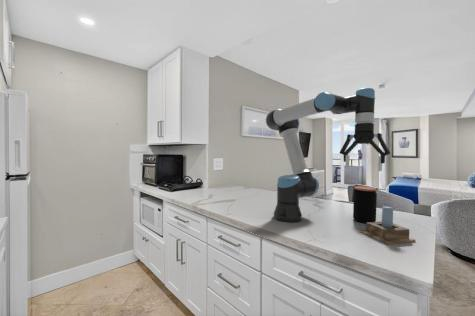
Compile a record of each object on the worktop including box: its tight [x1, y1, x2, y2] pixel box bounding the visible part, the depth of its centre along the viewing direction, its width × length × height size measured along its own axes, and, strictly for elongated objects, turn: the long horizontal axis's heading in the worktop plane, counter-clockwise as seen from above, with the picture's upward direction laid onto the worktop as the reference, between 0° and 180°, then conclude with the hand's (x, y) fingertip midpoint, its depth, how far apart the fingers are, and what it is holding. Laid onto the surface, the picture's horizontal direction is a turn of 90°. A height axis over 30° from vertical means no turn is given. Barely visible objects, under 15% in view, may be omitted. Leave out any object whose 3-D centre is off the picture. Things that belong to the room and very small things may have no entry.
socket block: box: [360, 221, 416, 245], centre depth 97 cm, size 14×14×5 cm
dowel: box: [381, 206, 394, 229], centre depth 96 cm, size 4×4×12 cm
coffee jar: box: [352, 185, 378, 224], centre depth 119 cm, size 11×11×18 cm
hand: (362, 169), depth 101 cm, fingers open, 13 cm apart
